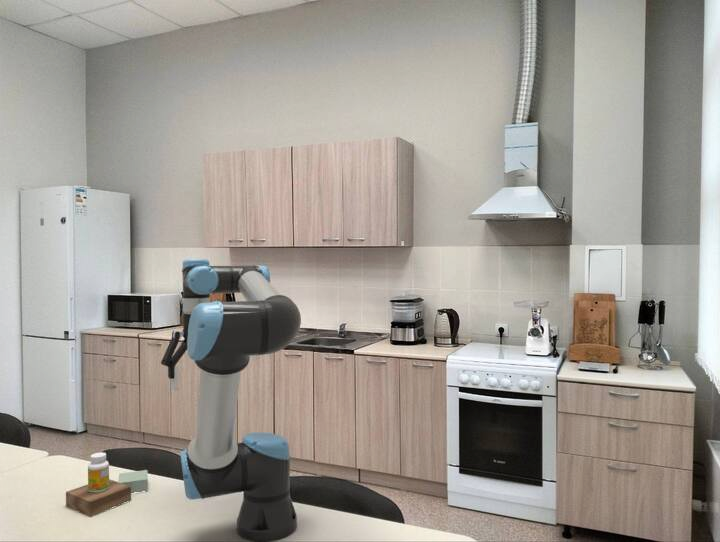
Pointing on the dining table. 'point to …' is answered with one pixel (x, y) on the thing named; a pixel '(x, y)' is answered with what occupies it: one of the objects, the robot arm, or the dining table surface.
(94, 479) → the supplement bottle
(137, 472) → the greygreen block
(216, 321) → the robot arm
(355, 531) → the dining table surface
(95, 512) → the walnut block
